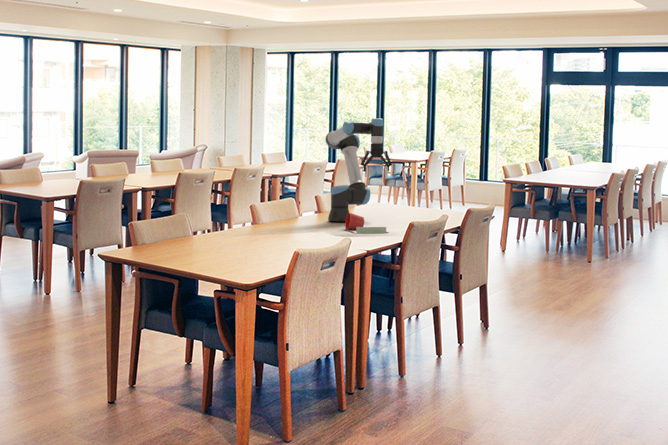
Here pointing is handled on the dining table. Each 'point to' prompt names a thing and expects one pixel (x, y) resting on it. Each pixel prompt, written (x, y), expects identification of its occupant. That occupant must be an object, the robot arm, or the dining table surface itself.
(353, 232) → the guide strips
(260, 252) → the dining table surface
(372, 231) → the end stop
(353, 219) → the flower pot
